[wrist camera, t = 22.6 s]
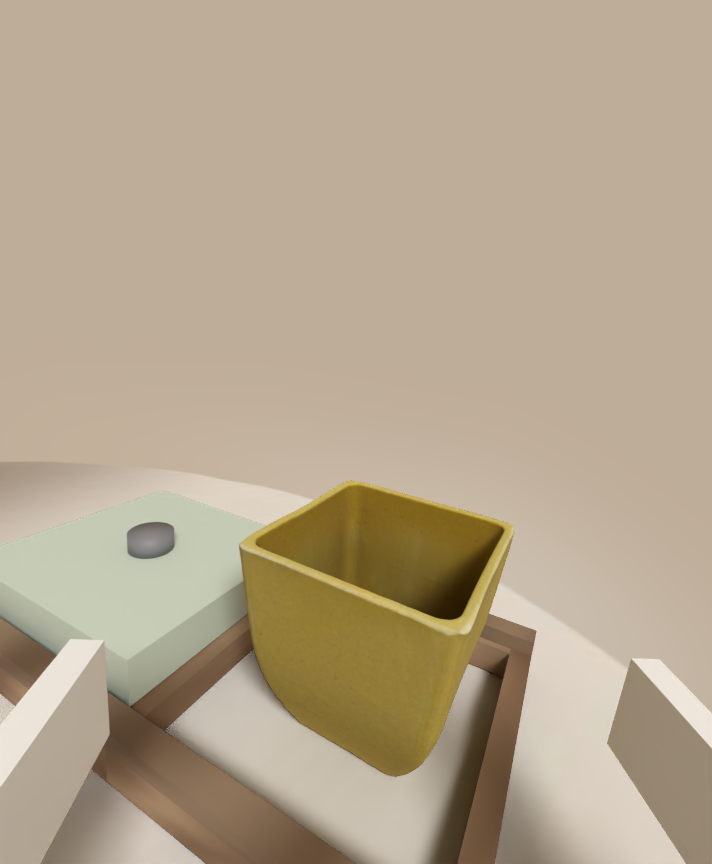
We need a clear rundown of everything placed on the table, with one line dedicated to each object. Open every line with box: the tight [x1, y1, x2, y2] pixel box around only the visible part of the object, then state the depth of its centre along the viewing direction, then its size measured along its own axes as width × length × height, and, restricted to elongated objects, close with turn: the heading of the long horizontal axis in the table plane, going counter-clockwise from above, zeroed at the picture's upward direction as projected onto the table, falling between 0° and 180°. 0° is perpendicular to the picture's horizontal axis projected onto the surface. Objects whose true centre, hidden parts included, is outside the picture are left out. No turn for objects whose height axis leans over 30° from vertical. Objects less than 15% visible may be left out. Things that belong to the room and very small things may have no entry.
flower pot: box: [239, 480, 514, 777], centre depth 19 cm, size 9×9×9 cm
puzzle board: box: [0, 614, 536, 864], centre depth 22 cm, size 25×15×2 cm, turn 63°
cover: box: [0, 490, 266, 707], centre depth 25 cm, size 12×12×3 cm
